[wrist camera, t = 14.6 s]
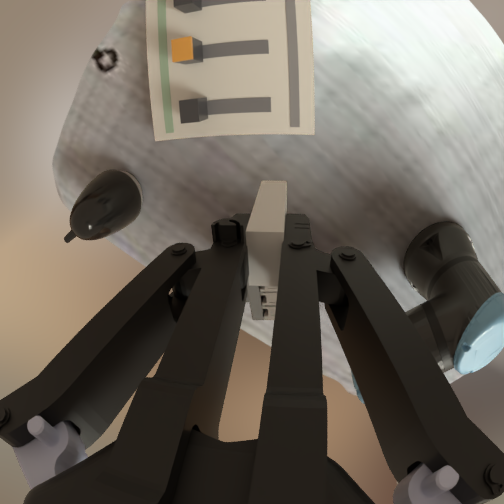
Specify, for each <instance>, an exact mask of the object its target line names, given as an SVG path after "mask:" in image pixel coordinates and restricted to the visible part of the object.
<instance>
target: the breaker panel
mask: <svg viewBox="0 0 504 504" xmlns="http://www.w3.org/2000/svg"><path fill="white" fill-rule="evenodd" d="M189 36H191V37H193V38H196V39H198V40H200V41H202V48H203V62H200V63H193V64H186V65H185V64H180V63H174V62H172V47H171V40H173V39H178V38H183V37H189ZM146 42H147V61H148V76H149V88H150V99H151V109H152V119H153V127H154V136H155V141H163V140H172V139H182V138H193V137H206V136H223V135H248V134H300V135H314V62H313V38H312V21H311V7H310V0H146Z"/></svg>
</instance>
